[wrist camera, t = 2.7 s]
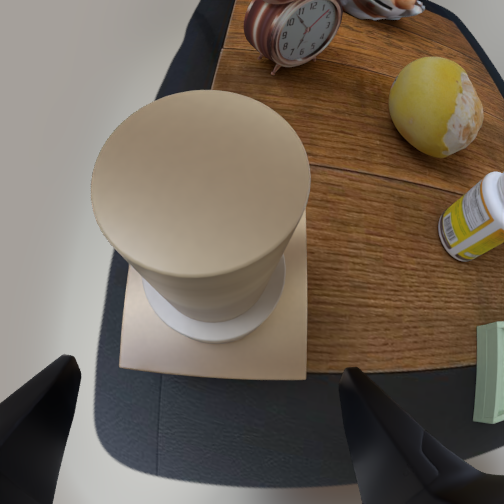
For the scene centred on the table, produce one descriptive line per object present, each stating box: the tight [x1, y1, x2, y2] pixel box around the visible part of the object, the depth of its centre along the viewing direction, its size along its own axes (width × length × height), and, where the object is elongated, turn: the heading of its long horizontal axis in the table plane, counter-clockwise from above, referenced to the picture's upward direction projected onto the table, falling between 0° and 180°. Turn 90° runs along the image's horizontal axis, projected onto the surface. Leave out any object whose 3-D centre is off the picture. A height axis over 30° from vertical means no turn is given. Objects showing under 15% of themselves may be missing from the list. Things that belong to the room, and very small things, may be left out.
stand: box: [119, 210, 307, 380], centre depth 19 cm, size 9×9×8 cm
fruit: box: [389, 57, 484, 158], centre depth 26 cm, size 10×11×10 cm
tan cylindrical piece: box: [91, 90, 311, 344], centre depth 11 cm, size 6×6×10 cm
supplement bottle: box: [438, 172, 504, 261], centre depth 22 cm, size 6×6×10 cm
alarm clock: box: [244, 0, 343, 76], centre depth 25 cm, size 11×5×15 cm, turn 127°
